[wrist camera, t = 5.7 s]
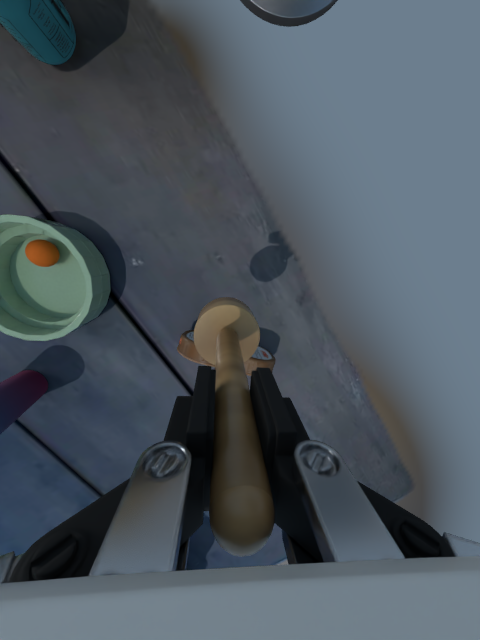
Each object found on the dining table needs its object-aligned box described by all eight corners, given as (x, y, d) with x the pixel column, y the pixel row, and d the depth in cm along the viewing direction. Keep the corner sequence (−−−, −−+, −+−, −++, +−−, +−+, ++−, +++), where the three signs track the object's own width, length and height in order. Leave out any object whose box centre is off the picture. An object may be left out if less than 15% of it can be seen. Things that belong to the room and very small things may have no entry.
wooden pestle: (197, 295, 20) (114, 456, 4) (257, 298, 20) (381, 453, 5) (196, 351, 21) (130, 631, 6) (252, 352, 22) (336, 614, 6)
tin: (181, 339, 40) (171, 361, 32) (185, 322, 39) (176, 340, 31) (265, 360, 42) (276, 386, 34) (271, 344, 41) (283, 367, 33)
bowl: (-10, 216, 33) (-59, 208, 27) (108, 227, 34) (86, 221, 29) (9, 324, 37) (-30, 337, 31) (115, 329, 38) (96, 343, 33)
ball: (36, 238, 33) (15, 237, 30) (63, 241, 34) (46, 239, 30) (40, 265, 34) (20, 266, 31) (66, 267, 35) (49, 268, 31)
